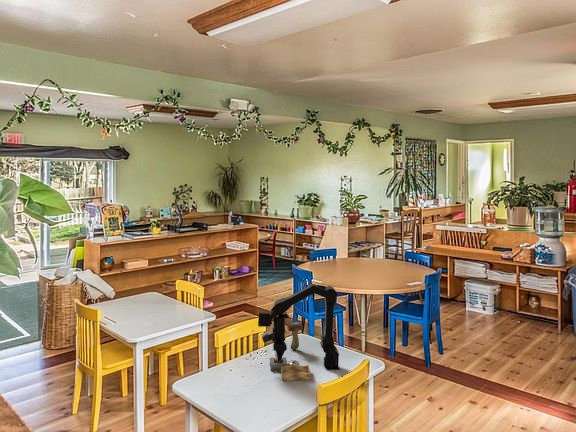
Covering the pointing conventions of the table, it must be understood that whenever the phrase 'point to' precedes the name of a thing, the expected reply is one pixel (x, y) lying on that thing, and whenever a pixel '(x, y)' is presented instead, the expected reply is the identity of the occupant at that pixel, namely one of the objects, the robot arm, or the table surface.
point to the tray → (295, 373)
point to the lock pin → (277, 358)
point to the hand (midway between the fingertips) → (278, 357)
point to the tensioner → (281, 364)
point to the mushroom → (295, 334)
